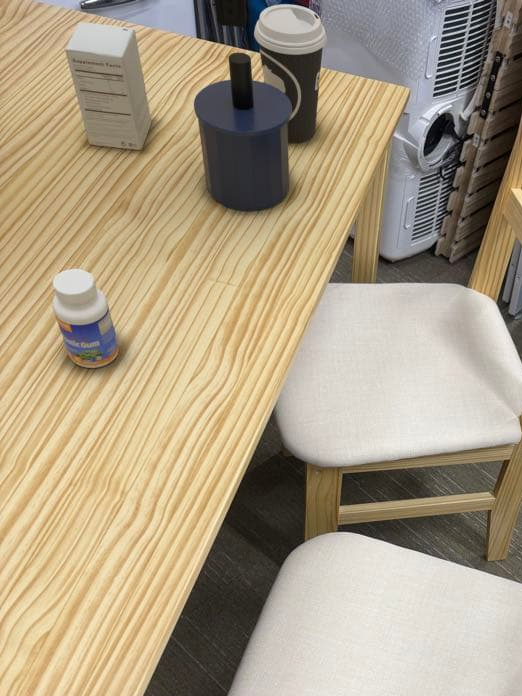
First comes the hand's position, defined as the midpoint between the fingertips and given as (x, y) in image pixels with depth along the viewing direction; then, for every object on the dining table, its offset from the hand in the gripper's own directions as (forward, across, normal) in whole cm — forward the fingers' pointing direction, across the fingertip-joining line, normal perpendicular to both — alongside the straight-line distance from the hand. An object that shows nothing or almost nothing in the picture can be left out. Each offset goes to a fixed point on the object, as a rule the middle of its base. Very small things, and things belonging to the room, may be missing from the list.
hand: (232, 22), depth 89 cm
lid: (+10, 0, +1) cm, 10 cm away
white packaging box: (+21, -11, -17) cm, 29 cm away
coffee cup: (+20, -14, +7) cm, 26 cm away
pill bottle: (+21, +32, -15) cm, 41 cm away
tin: (+20, 0, +1) cm, 20 cm away
